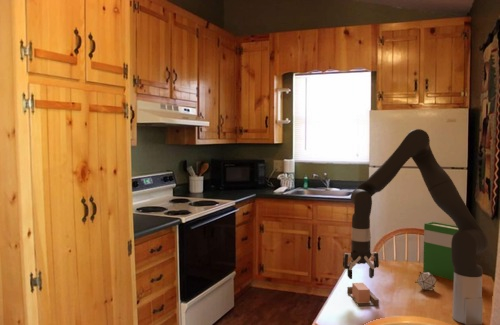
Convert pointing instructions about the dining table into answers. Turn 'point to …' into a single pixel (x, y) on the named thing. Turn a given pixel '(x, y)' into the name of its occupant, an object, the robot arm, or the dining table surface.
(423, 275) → the game die
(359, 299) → the block
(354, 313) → the dining table surface
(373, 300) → the tray
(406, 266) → the dining table surface
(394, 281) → the dining table surface
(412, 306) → the dining table surface
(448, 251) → the hardback book
